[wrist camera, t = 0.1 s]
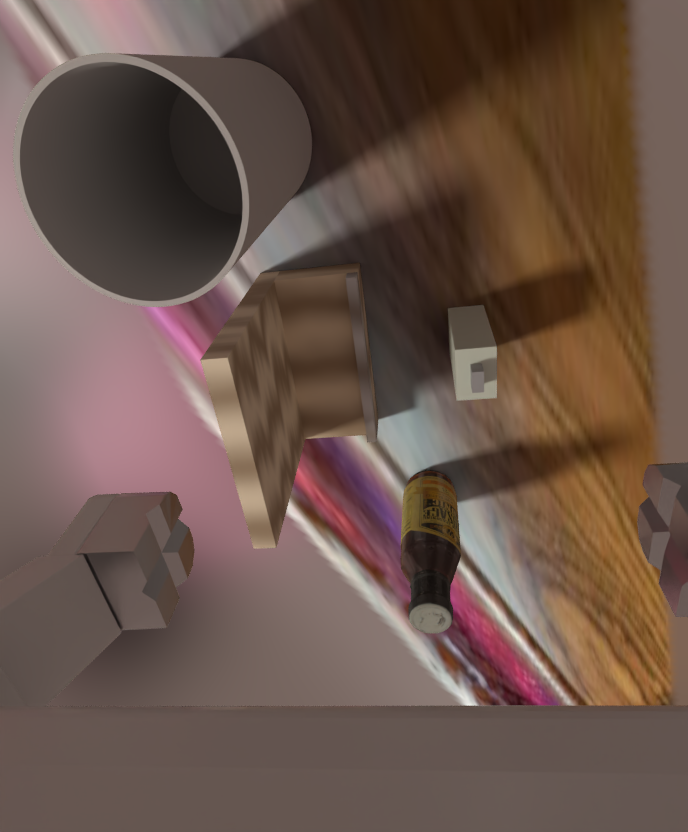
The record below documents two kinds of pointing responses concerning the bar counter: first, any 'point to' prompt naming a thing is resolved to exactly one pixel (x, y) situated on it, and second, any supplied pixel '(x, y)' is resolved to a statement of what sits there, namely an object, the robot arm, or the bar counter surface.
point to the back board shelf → (289, 382)
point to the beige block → (472, 353)
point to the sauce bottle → (430, 549)
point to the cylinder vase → (157, 168)
